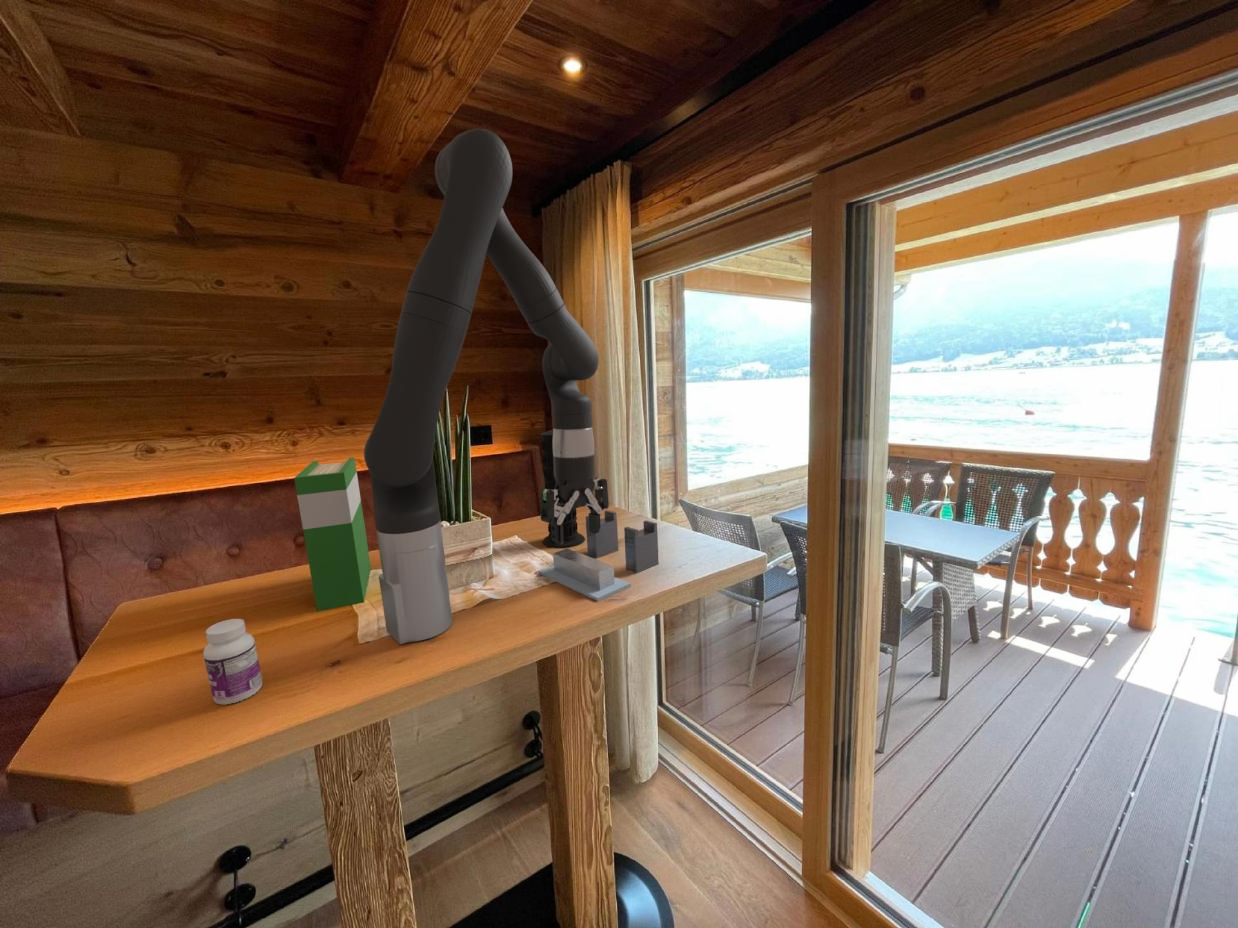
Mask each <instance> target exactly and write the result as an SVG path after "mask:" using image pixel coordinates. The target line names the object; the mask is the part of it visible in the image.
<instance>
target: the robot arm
mask: <svg viewBox="0 0 1238 928" xmlns="http://www.w3.org/2000/svg"><path fill="white" fill-rule="evenodd" d="M434 175H435V181H436V184H437V186H438V188H439V190H440V192H441V193H442V195H443V196H444V197H443V202H442V207H441V211H440V213H439V218H438V221H437V224H436V227H435V229H434V230H433V233H432V235H431V237H430V239H429V241H428V243H427V244H426V246H425V248H424V250H423V251H422V254H421V256H420V257H419V260H418V262H417V264H416V265H415V269H414V270H413V272H412V275H411V277H410V279H409V282H408V286H407V288H406V293H405V297H404V300H403V303H402V308H401V312H400V314H399V321H398V324H397V330H396V334H395V339H394V347H393V353H392V364H391V372H390V379H389V383H388V387H387V390H386V394H385V397H384V400H383V403H382V405H381V407H380V411H379V412H378V413H379V414H378V416H377V418H376V420H375V423H374V425H373V428H372V430H371V433H370V435H369V436H368V438H367V439H366V443H365V444H364V450H363V457H364V463H365V465H366V468H367V470H368V472H369V476H370V477H369V478H370V483H371V490H372V499H373V500H372V502H373V518H374V523H375V530H376V536H377V544H378V551H379V559H380V563H381V565H380V566H381V572H382V574H381V573H380V575H379V576H378V579H379V580H378V581H379V588H380V594H381V601H382V602H381V603H382V608H383V609H382V610H383V616H384V623H385V628H386V630H385V631H386V632H387V633H388V634H389V635H390V637H392V639H394V640H395V641H396V642H397V643H398V645H404V644H406V643H412V642H420V641H423V640H424V641H425V640H427V639H431V638H434V637H436V636H439V635H440V634H442V633H445V631H447V630H448V629H449V628H450V627H451V625H452V623H453V616H452V615H453V614H452V605H451V599H450V589H449V583H448V582H449V581H448V573H447V565H446V558H445V546H444V541H443V539H444V538H443V532H442V530H443V529H442V523H441V522H442V521H441V513H440V504H439V497H438V490H437V483H436V475H435V469H434V446H435V439H436V434H437V427H438V423H439V418H440V417H439V415H440V411H441V407H442V402H443V399H444V395H445V392H446V391H447V387H448V385H449V383H450V380H451V377H452V376H453V373H454V371H455V368H456V365H457V363H458V359H459V357H460V354H461V351H462V347H463V346H464V342H465V339H466V336H467V332H468V329H469V324H470V321H471V318H472V314H473V309H474V305H475V300H476V297H477V293H478V289H479V285H480V281H481V278H482V273H483V269H484V264H485V261H486V260H485V259H486V256H487V257H488V258H489V260H490V261H491V262H492V264H493V267H495V269H496V270H497V272H498V274H499V276H500V277H501V279H502V281H503V282H504V284H505V285H506V287H507V289H508V291H509V293H510V295H511V297H512V298H513V300H514V302H515V304H516V305H517V307H518V309H519V311H520V313H521V314H522V317H523V318H524V319H525V322H526V323H527V325H528V328H529V329H530V330H531V331H532V333H533V334H534V335H535V336H538V337H540V338H543V339H546V340H547V341H548V342H549V345H548V346H546V348H545V350H544V352H543V355H542V356H543V357H542V373H543V377H544V381H545V385H546V388H547V392H548V396H549V399H550V402H551V406H552V426H553V429H552V430H553V463H554V477H555V480H556V486H555V489H545V487H543V488H541V490H540V520H541V521H542V522H545V523H547V524H549V523H550V524H551V536H552V540H553V541H554V542H555V543H557V544H563V543H564V534H563V524H562V522H563V520H564V518H565V516H566V515H567V514H569V512H570V510H571V508H572V509H574V508H576V509H577V508H579V507H586V508H587V510H588V511H589V512H588V516H589V531H590V532H592V533H595V534H596V533H599V529H600V527H601V526H600V519H601V513H602V512H603V511H605V510H608V508H609V506H610V504H609V502H610V501H609V490H608V481H607V479H606V478H604V477H598V476H597V477H595V476H596V461H595V460H596V458H595V456H596V455H595V438H594V432H593V431H594V430H593V415H592V414H593V411H592V410H593V409H592V401H591V398H590V397H589V396H587V395H585V394H584V393H581V391H580V390H579V389H580V388H579V385H578V381H585V380H586V381H587V380H589V379H590V378H593V376H594V375H595V374H596V372H597V370H598V368H599V355H598V352H597V351H598V350H597V349H596V346H595V344H594V342H593V340H592V339H591V337H590V336H589V335H588V334H587V333H586V331H585V330H584V328H582V326H581V325H580V324H579V322H578V321H577V320H576V319H575V318H574V317H573V315H572V314H571V313H570V312H569V311H568V309H567V306H566V305H565V303H564V300H563V298H562V296H561V294H560V292H559V290H558V288H557V287H556V284H555V283H554V280H553V279H552V277H551V275H550V274H549V272H548V271H547V270H546V268H545V267H544V265H543V264H542V262H540V260H539V259H538V258H537V256H535V254H534V253H533V252H532V251H531V250H530V249H529V248H528V246H527V245H526V244H525V242H524V241H523V240H522V239H521V237H520V236H519V235H518V233H517V232H516V231H515V229H514V228H513V226H512V224H511V222H510V221H509V218H508V217H507V215H506V213H505V210H504V208H503V206H504V205H505V201H506V200H507V197H508V194H509V192H510V189H511V186H512V182H513V163H512V159H511V156H510V152H509V150H508V148H507V146H506V144H505V142H504V141H503V140H502V139H501V138H500V137H499V136H498V135H497V134H496V133H494V132H493V131H490V130H488V129H484V128H473V129H469V130H465V131H463V132H461V133H460V134H458V135H456V136H455V137H454V138H453V139H452V140H451V141H450V142H449V143H447V144H446V145H445V146H444V147H443V148H442V149H441V150H440V152H439V153H438V154H437V157H436V159H435V163H434ZM594 477H595V478H594ZM593 492H594V495H595V496H594V495H593ZM556 496H557V497H558V498H557V500H556ZM554 500H556V502H555V504H554ZM562 504H563V505H564V507H561V506H562Z"/></svg>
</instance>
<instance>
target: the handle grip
mask: <svg viewBox="0 0 1238 928" xmlns="http://www.w3.org/2000/svg"><path fill="white" fill-rule="evenodd" d="M540 437H541V440H542V441H541V449H542V454H543V456H542V463H543V468H544V470H543V476H544V479H543V481H544V483H545V484H544V488H545V489H555V486H556V480H555V477H554V463H553V429H551V430H547V431H545V432H542V433H540ZM557 498H558V497H557V496H556V500H557ZM556 500H554V504H555V502H556ZM561 507H564V505H563V504H562V506H561ZM577 521H578V517H577V508H574V509H572V508H571V510H570V512H569V514H567V515H566V516H565V518H564V520H563V522H562V524H563V534H564V543H563V544H557V543H555V542H554V541H553V540H552V536H551V524H550V523H548V527H547V530H548V535H547V536H545V537H544V538H543V540H542V542H541V543H542V545H543V546H544V547H547V548H551V549H569V548H574V547H577V546H579V545H582V544H583V543H584V542H585V541H586V538H585V536H584V534H583V533H582V534H581V533H579V531H578V529H579V528H578V522H577Z"/></svg>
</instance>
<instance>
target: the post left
mask: <svg viewBox="0 0 1238 928" xmlns="http://www.w3.org/2000/svg"><path fill="white" fill-rule="evenodd" d="M603 511H604V517H603V518H600V526H601V527H600V529H599V533H596V534H595V533H592V532H590V531H589V515H586V516H585V529H586V530H585V531H586V544H587V545H586V546H587V549H586V550H587V556H589V557H591V558H594V559H599V558H602V557H604V556H606V555H609V554H612V553H614V552H617V551H619V537H618V536H619V535H618V519H617V517H618V516H617V512H615V511H614V510H613V511H612V510H609V509H605V510H603Z"/></svg>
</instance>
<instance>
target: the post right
mask: <svg viewBox="0 0 1238 928" xmlns="http://www.w3.org/2000/svg"><path fill="white" fill-rule="evenodd" d="M642 524H643V529H636V528H633V527H630V526H626V527H624V529H623V531H624V555H625V556H624V557H625V558H624V559H625V569H626V571H630V572H632V573H635V574H638V573H640V572H643V571H646V570H647V569H650V568H652V567H655V566H656V565H659V541H658V540H659V539H658V537H659V536H658V522H653V521H649V520H648V519H647V520H643V523H642Z"/></svg>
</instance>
